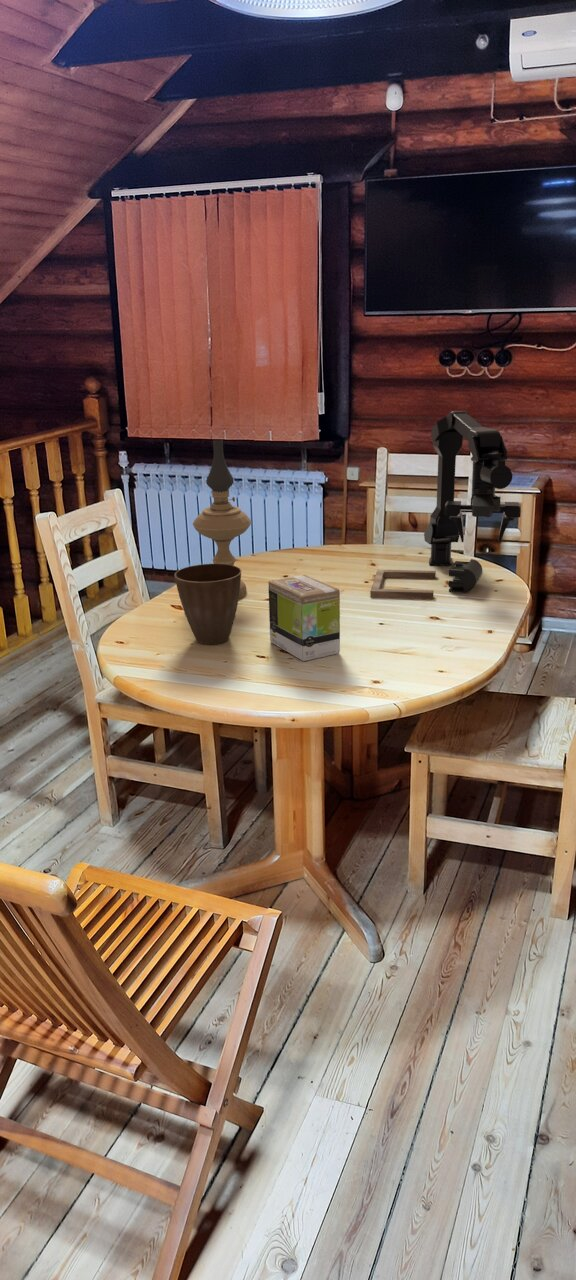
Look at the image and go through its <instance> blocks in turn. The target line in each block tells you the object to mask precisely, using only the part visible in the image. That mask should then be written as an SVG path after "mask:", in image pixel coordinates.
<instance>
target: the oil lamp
mask: <svg viewBox="0 0 576 1280" xmlns="http://www.w3.org/2000/svg"><path fill="white" fill-rule="evenodd" d="M223 441H224V440H222V439H214V440H213V443H212V444H213V447H212V449H213V459H212V463H211V468H210V470H209V473H208V475H207V478H206V482H205V483H206V485H207V486H208V487H209V488H210V489H211V498H213V502H212V503H211V505H210V506H209V507H205V508H203V509H202V512H200V513H199V514H198V515H197V516H196V518H195V519H194V521H193V522H192V526H193V527H194V529H195V531H197V532H198V534H200V535H202V536H204V537H206V538H208V539H211V540H212V541H213V542H215V544H216V546H217V551H216V553H215V555H214V557H213V558H212V564H227V565H233V566H235V565H234V564H235V562H236V561H237V559H236V557H235V556H234V555H233V553H231V550H230V545H231V542H232V541H233V540H235V538H237V537H240V536H241V535H242V534H244V533H246V532H247V530H248V529H249V527H250V526H251V525H252V520H251V518H250V517H249V516H248V515H247V513H245V512H244V511H243V510H241V508H240V507H239V506H236V505H232V504H231V501H232V502H233V503H235V501H236V498H235V497H234V496H233V497H232V498H231V499H229V497H230V489H231V487H232V486H233V485H234V482H235V481H234V477H233V475H232V473H231V471H230V469H229V468H228V465H227V462H226V460H225V455H224V442H223ZM247 590H248V589H247V586H246V583H245V582H244V581H243V580H242V579H241V582H240V592H239V599H242V598H244V597H246V596H247V593H248V592H247Z"/></svg>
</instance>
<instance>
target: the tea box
mask: <svg viewBox="0 0 576 1280" xmlns="http://www.w3.org/2000/svg"><path fill="white" fill-rule="evenodd" d="M267 584H268V614H269V615H268V616H269V617H268V619H269V640H270V641H269V642H270V643H271V644H273V645H276V646H277V647H278V648H279V649H282V650H284V651H285V652H287V653H289V654H290V655H292V656H294V657H295V658H297V659H299V660H300V661H301V662H306V661H312V660H317V659H321V658H324V657H328V656H333V655H336V654H340V652H341V629H340V628H341V626H340V625H341V624H340V623H341V621H340V620H341V611H340V610H341V606H340V603H341V598H340V597H341V596H340V595H341V593H340V592H341V590H340V588H337V587H335V586H332V585H331V584H328V583H325V582H323V581H320V580H318V579H315V578H313V577H312V576H311V577H310V576H308V575H306V574H303V575H295V576H289V577H285V578H279V579H274V580H268V583H267Z"/></svg>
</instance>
